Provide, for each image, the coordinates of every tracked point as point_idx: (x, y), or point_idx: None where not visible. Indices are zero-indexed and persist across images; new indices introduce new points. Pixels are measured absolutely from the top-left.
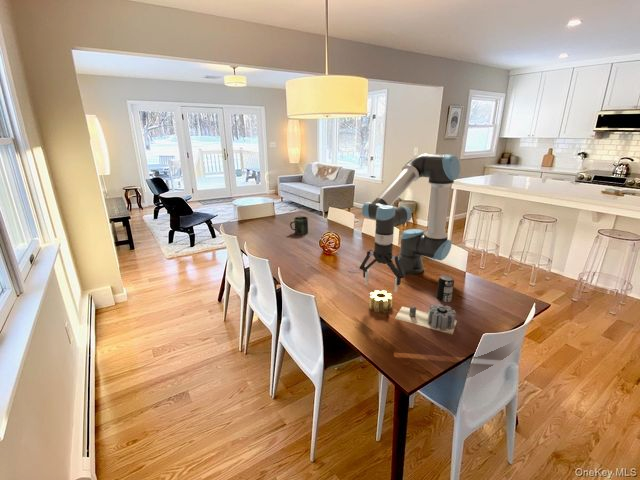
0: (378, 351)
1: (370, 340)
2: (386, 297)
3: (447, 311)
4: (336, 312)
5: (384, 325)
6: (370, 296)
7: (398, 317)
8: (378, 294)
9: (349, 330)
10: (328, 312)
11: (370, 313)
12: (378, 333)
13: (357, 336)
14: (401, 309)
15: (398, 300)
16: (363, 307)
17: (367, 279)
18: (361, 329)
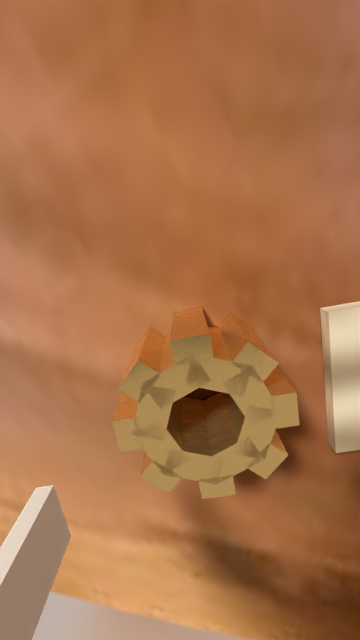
0: (350, 630)
1: (295, 603)
2: (257, 424)
3: None
4: None
5: (300, 499)
6: (149, 479)
7: (352, 434)
8: (172, 401)
9: (189, 601)
10: None
11: None
12: (303, 556)
13: (239, 610)
14: (337, 350)
15: (257, 223)
16: None
17: (35, 576)
18: (226, 572)
